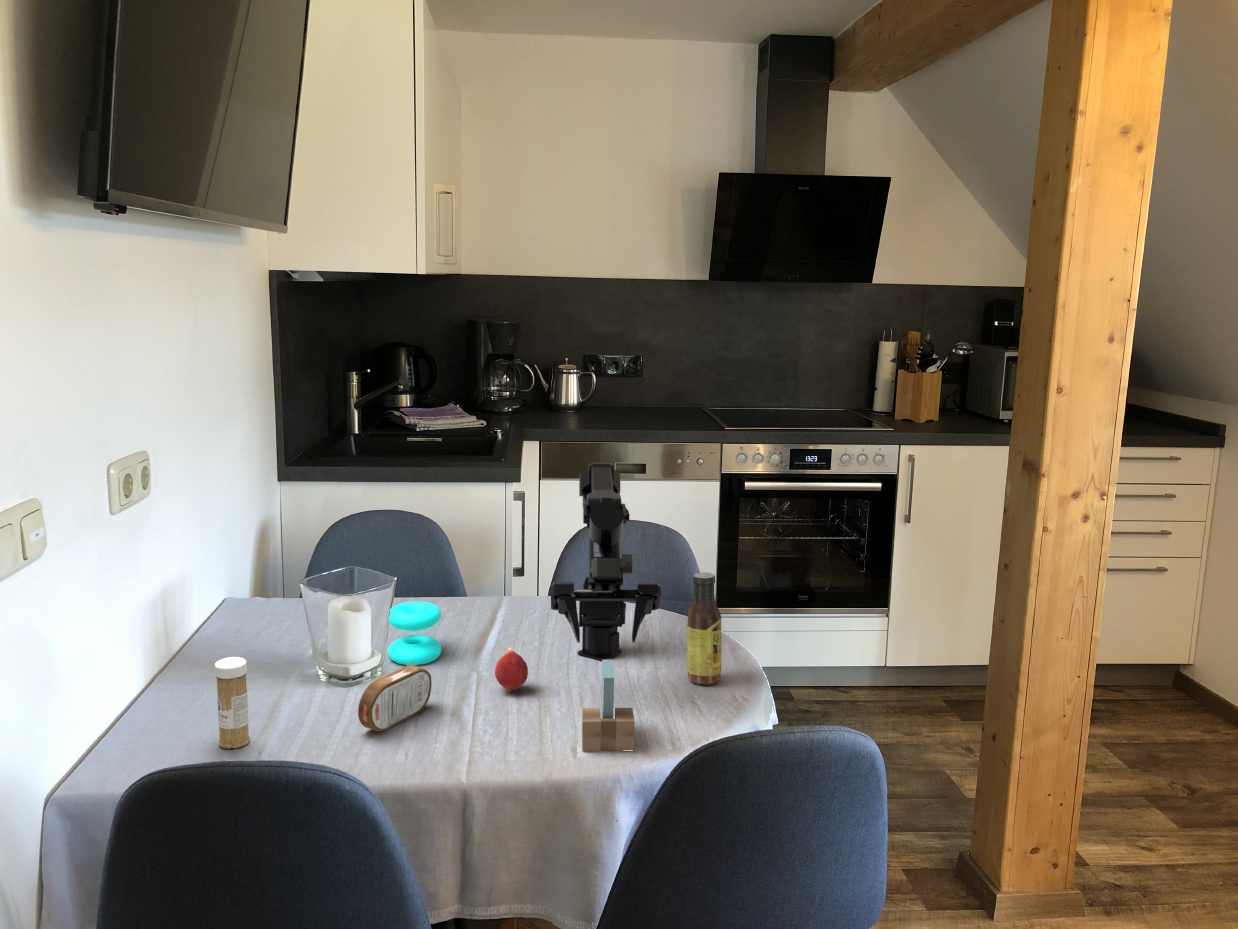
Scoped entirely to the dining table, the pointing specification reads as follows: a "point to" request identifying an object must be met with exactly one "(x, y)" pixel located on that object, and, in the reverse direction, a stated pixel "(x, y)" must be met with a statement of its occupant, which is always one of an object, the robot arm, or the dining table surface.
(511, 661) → the onion
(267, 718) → the dining table surface
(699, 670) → the sauce bottle
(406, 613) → the donuts
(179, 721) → the dining table surface
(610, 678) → the pale blue slab box
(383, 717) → the tin
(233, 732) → the sprinkles bottle
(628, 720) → the clip block
